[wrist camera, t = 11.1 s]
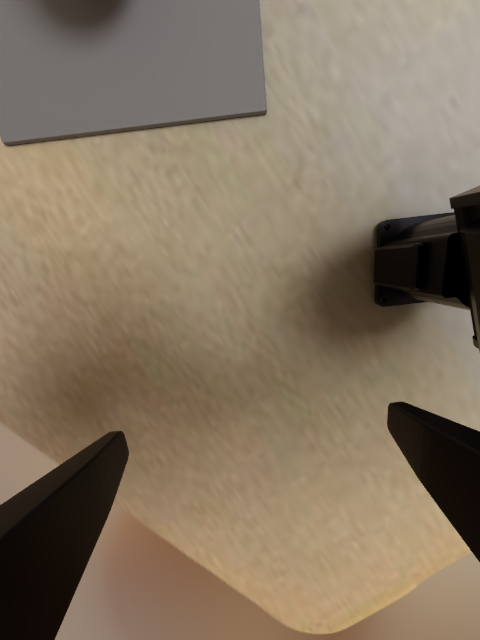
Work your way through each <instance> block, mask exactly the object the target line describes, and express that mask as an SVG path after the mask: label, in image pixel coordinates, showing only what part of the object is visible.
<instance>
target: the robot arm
mask: <svg viewBox="0 0 480 640" xmlns="http://www.w3.org/2000/svg"><path fill="white" fill-rule="evenodd" d="M450 204H451V209H453V208H454V212H453V213H444V214H435V215H426V216H418V217H409V218H400V219H391V220H386V221H382V222H381V223H379V225H378V228H377V249H376V250H375V264H374V283H375V303H376V304H377V305H379V306H383V307H384V306H394V305H403V304H412V303H421V302H433V303H438V304H442V305H447V306H452V307H457V308H462V309H467V310H470V311H471V317H472V323H473V329H474V336H473V337H472V338H473V344H474V346H475V347H477V348H478V349H479V351H480V186H478V187H476V188H473V189H471V190H468V191H466V192H463V193H461V194H459V195H456V196H454V197H451V198H450ZM384 225H387V230H386V231H385V230H384ZM383 297H384V301H383V302H382V303H381V299H382V298H383ZM387 426H388V429H389V432H390V433H391V435H392V437H393V438H394V440H395V442H396V443H397V445H398V446H399V448H400V450H401V451H402V453H403V455H404V456H405V458H406V459H407V461H408V463H409V464H410V466H411V468H412V469H413V471H414V472H415V474H416V476H417V477H418V479H419V480H420V481H421V483H422V484H423V486H424V487H425V488H426V490H427V491H428V493H429V494H430V495H431V497H432V498H433V499H434V501H435V502H436V503H437V505H438V506H439V508H440V509H441V510H442V512H443V513H444V514H445V516H446V517H447V518H448V520H449V521H450V522H451V524H452V525H453V527H454V528H455V529H456V531H457V532H458V533H459V535H460V536H461V537H462V539H463V540H464V542H465V543H466V544H467V546H468V547H469V548H470V550H471V551H472V552H473V554H474V555H475V556H476V558H477V559H478V561H479V562H480V432H479V431H477V430H474V429H472V428H469V427H466V426H464V425H461V424H459V423H456V422H454V421H451V420H449V419H446V418H443V417H441V416H438V415H436V414H433V413H431V412H428V411H425V410H423V409H420V408H418V407H415V406H413V405H410V404H408V403H405V402H393V403H390V404H389V406H388V419H387ZM128 456H129V450H128V446H127V442H126V439H125V435H124V433H123V432H122V431H113V432H109V433H107V434H106V435H104V436H103V437H101V438H100V439H98V440H97V441H95V442H94V443H92V444H91V445H89V446H88V447H86V448H85V449H83V450H82V451H80V452H79V453H77V454H76V455H74V456H73V457H71V458H70V459H68V460H67V461H65V462H64V463H62V464H61V465H59V466H58V467H57V468H55V469H54V470H52V471H51V472H49V473H48V474H46V475H45V476H43V477H42V478H40V479H39V480H37V481H36V482H35V483H33V484H31V485H30V486H28V487H27V488H25V489H24V490H22V491H21V492H19V493H18V494H16V495H15V496H13V497H12V498H11V499H9V500H7V501H6V502H4V503H3V504H1V505H0V640H55V637H56V635H57V632H58V630H59V628H60V626H61V624H62V621H63V619H64V616H65V614H66V612H67V609H68V607H69V605H70V603H71V600H72V598H73V596H74V594H75V591H76V589H77V586H78V584H79V582H80V580H81V577H82V575H83V573H84V570H85V568H86V566H87V563H88V561H89V559H90V556H91V554H92V552H93V550H94V547H95V545H96V543H97V540H98V538H99V536H100V534H101V531H102V529H103V526H104V524H105V522H106V520H107V517H108V515H109V512H110V510H111V507H112V505H113V502H114V499H115V496H116V493H117V490H118V487H119V484H120V481H121V478H122V475H123V472H124V469H125V466H126V463H127V460H128Z"/></svg>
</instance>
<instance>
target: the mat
mask: <svg viewBox="0 0 480 640" xmlns="http://www.w3.org/2000/svg"><path fill="white" fill-rule="evenodd" d="M266 112H267V106H266V91H265V76H264V62H263V47H262V32H261V18H260V3H259V0H0V136H1V140H2V143H4V144H6V145H8V146H9V145H17V144H26V143H34V142H42V141H50V140H58V139H66V138H75V137H83V136H91V135H99V134H107V133H115V132H124V131H132V130H140V129H148V128H156V127H164V126H173V125H181V124H189V123H197V122H205V121H213V120H221V119H230V118H238V117H246V116H254V115H262V114H266Z"/></svg>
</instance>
